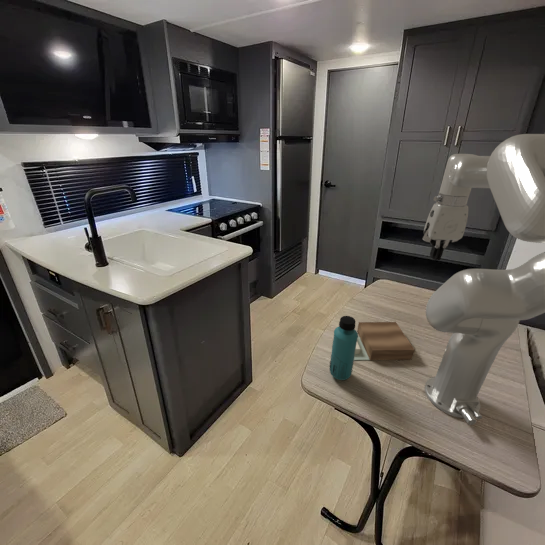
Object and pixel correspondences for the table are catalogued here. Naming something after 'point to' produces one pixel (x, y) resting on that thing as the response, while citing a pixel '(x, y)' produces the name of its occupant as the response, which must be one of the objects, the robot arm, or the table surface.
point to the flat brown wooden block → (385, 341)
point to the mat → (361, 352)
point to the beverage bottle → (343, 348)
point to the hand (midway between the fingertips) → (434, 258)
